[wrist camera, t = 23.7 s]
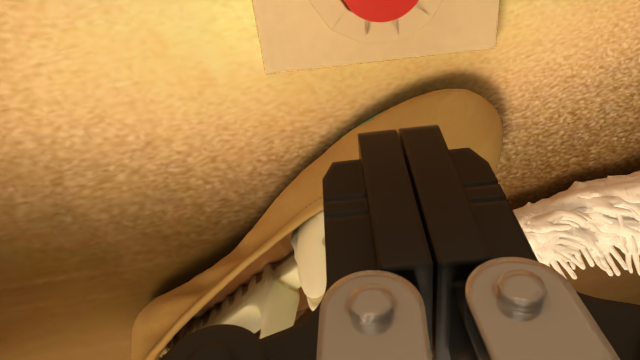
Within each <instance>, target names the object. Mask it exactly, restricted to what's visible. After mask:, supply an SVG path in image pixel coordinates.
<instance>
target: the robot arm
mask: <svg viewBox="0 0 640 360" xmlns="http://www.w3.org/2000/svg"><path fill="white" fill-rule="evenodd" d="M357 135H358V149H359V159H357V160H348V161H338V162H332V164H331V166H330V167H329V169H328V171H327V173H326V174H325V176H324V178H323V179H322V185H323V208H324V231H325V254H326V278H327V282H326V289H325V293H324V296H323V298H322V300H321V302H320V303H319V305H318V306H317V308H316V309H315V310H314V311H313V312H312V313H311V314H310V315H309V316H307V317H306V318H305V319H304V320H302V321H301V322H299V323H297V324H296V325H294V326H291V327H289V328H287V329H285V330H282V331H279V332H277V333H274V334H272V335H269V336H266V337H264V338H261V339H259V338H258V337H257V336H256V335H255V334H254V333H253V332H251V331H250V330H248V329H246V328H244V327H241V326H237V325H231V324H217V325H212V326H208V327H205V328H202V329H199V330H197V331H195V332H193V333H191V334H189V335H187V336H186V337H184V338H183V339H181V340H180V341H179V342H178V343H177V344H175V345H174V346H173V347H172V348H171V349H170V350H169V351H168V352H167V353H166V354H165V355H164V356H163V357H162V358H161V359H159V360H432V356H431V355H432V354H433V359H434V360H640V305H636V304H630V303H623V302H617V301H611V300H604V299H600V298H595V297H591V296H588V295H584V294H581V293H579V292H577V291H575V290H574V288H573V287H572V285H571V284H570V283H569V281H568V280H567V279H566V278H565V277H564V276H563V275H561V274H560V273H559V272H557V271H556V270H555V269H553V268H551V267H549V266H547V265H545V264H543V263H540V262H539V261H538V260H537V258H536V256H535V254H534V252H533V250H532V248H531V246H530V244H529V242H528V240H527V238H526V236H525V234H524V232H523V230H522V228H521V226H520V224H519V222H518V220H517V218H516V216H515V214H514V212H513V210H512V208H511V206H510V204H509V202H508V200H506V198H505V194H504V192H503V190H502V188H501V186H500V184H498V180H497V178H496V176H495V174H494V172H493V170H492V168H491V166H490V164H489V162H488V161H486V160H485V159H484V158H482V157H481V156H480V155H478V154H477V153H476V152H474V151H473V150H472V149H470V148H469V147H468V148H459V149H448V147H447V144H446V142H445V140H444V137H443V135H442V132H441V130H440V127H439V126H438V125H437V124H435V125H426V126H417V127H408V128H399V129H398V134H397V131H396V129H391V130H382V131H372V132H363V133H358V134H357Z"/></svg>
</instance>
